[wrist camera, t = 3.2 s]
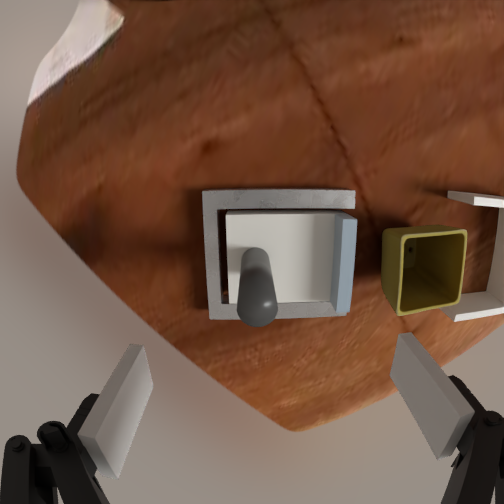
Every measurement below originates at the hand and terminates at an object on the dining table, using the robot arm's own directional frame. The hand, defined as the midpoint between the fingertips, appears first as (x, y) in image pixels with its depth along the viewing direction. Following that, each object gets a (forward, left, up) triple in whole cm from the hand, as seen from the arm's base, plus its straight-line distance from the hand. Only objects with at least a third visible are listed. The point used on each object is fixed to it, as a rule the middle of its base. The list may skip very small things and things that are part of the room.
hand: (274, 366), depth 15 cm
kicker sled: (+3, -1, -23) cm, 23 cm away
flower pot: (+18, -1, -23) cm, 29 cm away
